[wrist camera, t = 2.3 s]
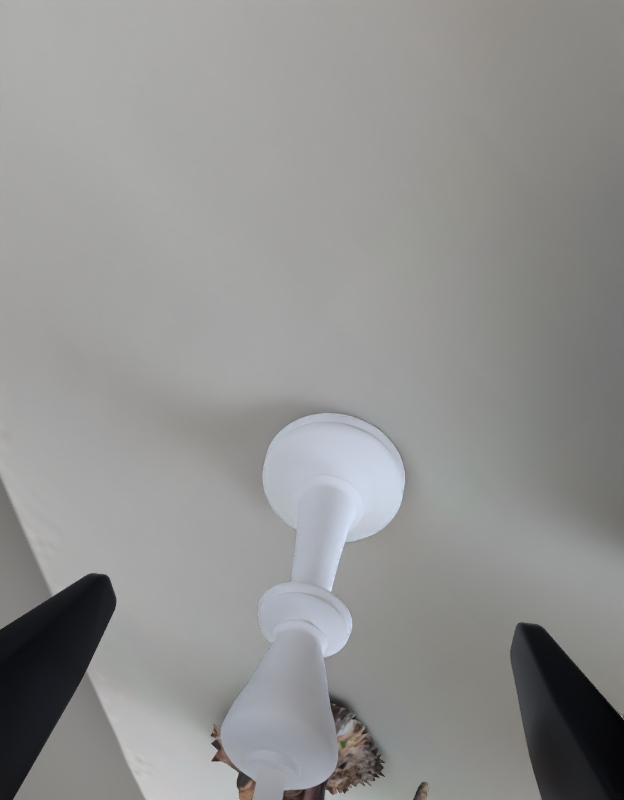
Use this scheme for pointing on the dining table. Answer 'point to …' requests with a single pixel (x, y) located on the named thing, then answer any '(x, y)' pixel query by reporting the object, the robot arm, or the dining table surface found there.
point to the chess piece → (309, 596)
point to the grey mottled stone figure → (351, 766)
